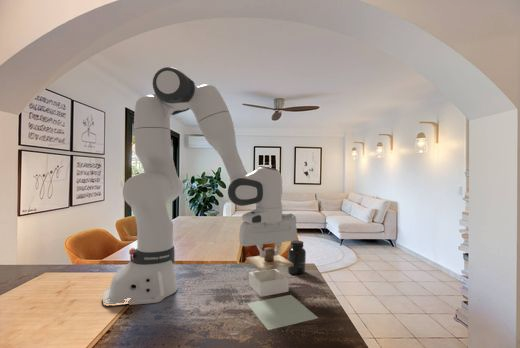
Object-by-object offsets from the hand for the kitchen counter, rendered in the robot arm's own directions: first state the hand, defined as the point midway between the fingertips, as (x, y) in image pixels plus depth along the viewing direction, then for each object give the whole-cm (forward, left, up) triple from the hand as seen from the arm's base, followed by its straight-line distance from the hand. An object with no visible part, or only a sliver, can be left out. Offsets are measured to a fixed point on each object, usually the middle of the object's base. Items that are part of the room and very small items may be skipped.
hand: (269, 256), depth 95 cm
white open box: (0, 0, -12) cm, 12 cm away
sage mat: (-3, -15, -11) cm, 19 cm away
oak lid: (0, 0, -2) cm, 2 cm away
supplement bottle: (+17, +10, -11) cm, 23 cm away
